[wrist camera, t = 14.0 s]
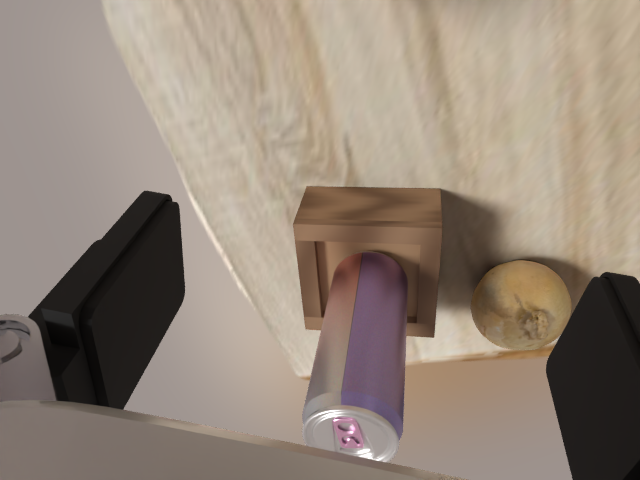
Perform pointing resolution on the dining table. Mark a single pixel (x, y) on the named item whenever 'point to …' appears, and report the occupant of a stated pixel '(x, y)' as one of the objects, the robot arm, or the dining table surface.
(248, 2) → the dining table surface
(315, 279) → the walnut box
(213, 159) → the dining table surface
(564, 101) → the dining table surface
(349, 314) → the beverage can
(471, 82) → the dining table surface
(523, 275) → the onion
